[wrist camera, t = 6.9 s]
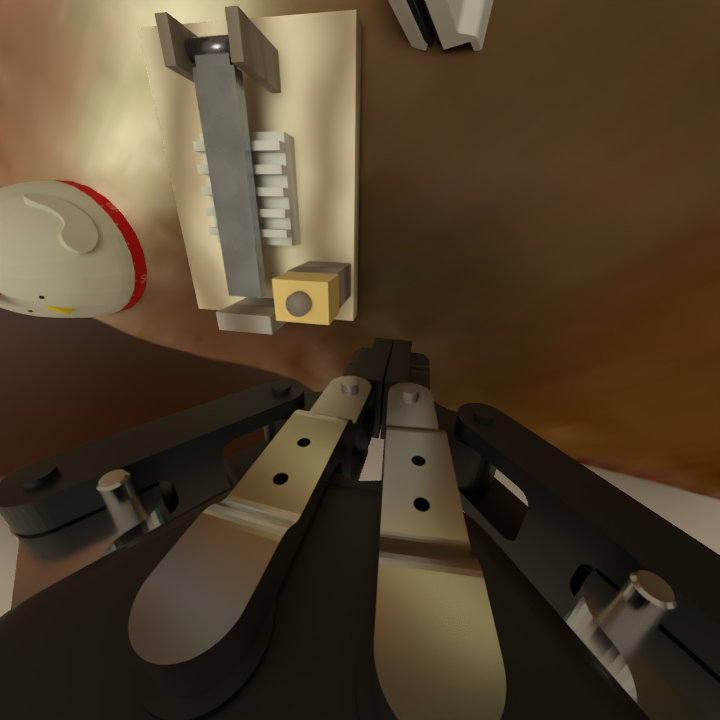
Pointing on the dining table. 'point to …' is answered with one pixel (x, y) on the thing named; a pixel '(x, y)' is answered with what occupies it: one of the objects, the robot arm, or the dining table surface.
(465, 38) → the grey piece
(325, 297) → the block
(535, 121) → the dining table surface
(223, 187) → the strap
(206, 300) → the cream board with rail
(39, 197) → the kitchen timer
